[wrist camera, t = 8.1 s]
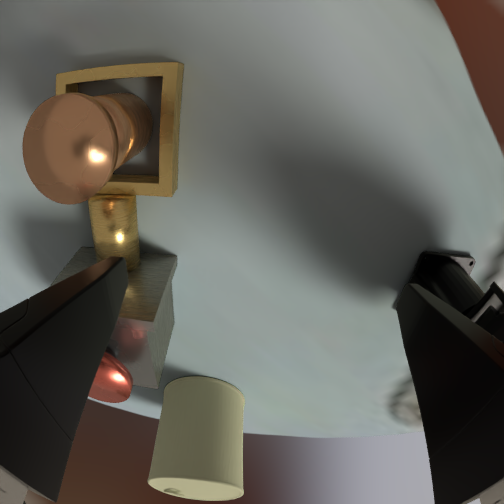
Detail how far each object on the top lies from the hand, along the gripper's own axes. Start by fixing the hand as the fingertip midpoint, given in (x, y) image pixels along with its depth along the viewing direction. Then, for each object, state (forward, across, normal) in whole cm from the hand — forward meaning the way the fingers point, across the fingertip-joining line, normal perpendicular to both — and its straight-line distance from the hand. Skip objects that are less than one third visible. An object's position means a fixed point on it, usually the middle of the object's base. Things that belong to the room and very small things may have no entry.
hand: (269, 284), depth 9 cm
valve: (+11, +10, +7) cm, 16 cm away
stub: (+11, +10, -3) cm, 15 cm away
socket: (+11, +10, -3) cm, 15 cm away
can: (+12, +4, +25) cm, 28 cm away
